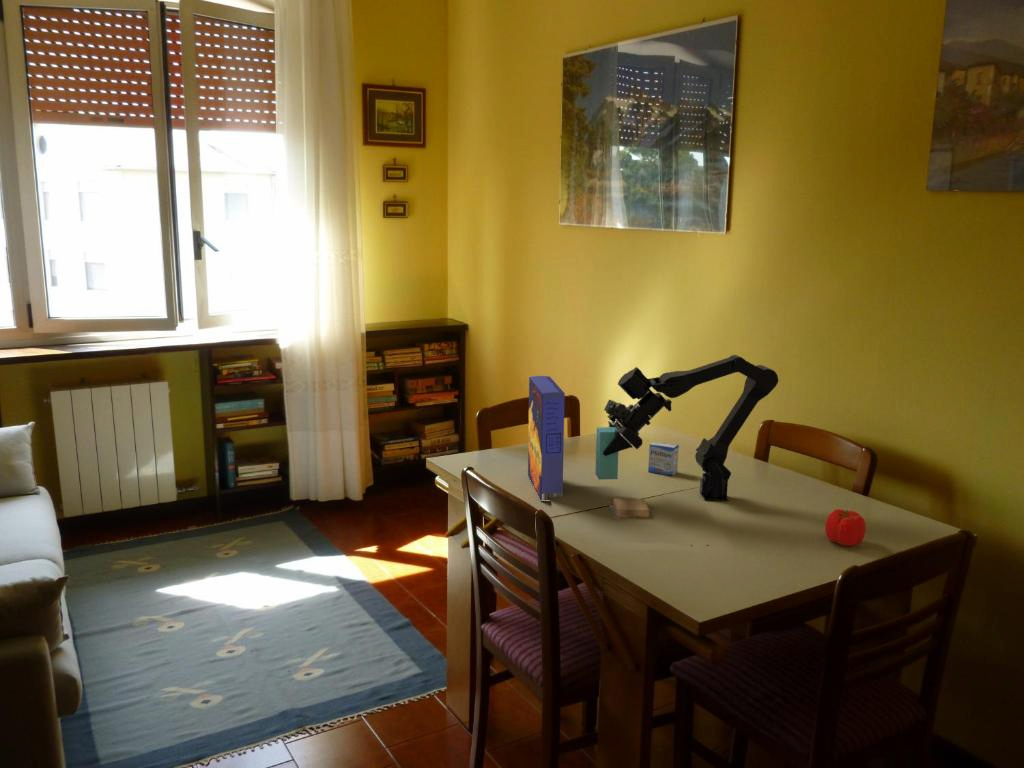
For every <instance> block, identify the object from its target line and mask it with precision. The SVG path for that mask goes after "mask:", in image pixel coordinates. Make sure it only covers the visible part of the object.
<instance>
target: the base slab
mask: <svg viewBox="0 0 1024 768" xmlns="http://www.w3.org/2000/svg"><path fill="white" fill-rule="evenodd" d="M608 507H609V508H610V512H611V514H612V518H613V519H614V520H629V519H633V518H634V517H617V516H616V513H615V510H614V506H613V504H608ZM649 513H651V510H650V509H649Z"/></svg>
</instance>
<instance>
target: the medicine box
mask: <svg viewBox="0 0 1024 768" xmlns="http://www.w3.org/2000/svg"><path fill="white" fill-rule="evenodd" d="M648 447H649V448H648V464H647V465H648V466H647V472H648V473H652V474H657V473H658V475H665V476H671V477H672V476H675V475H676V474H677V473H678V466H679V464H678V463H679V447H680V444H674V443H668V442H667V443H666V442H660V441H652V442H650V444H649V446H648Z"/></svg>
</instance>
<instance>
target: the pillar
mask: <svg viewBox="0 0 1024 768" xmlns="http://www.w3.org/2000/svg"><path fill="white" fill-rule="evenodd" d="M615 429H616V428H615V427H609V426H601V427H600V426H597V427H596V435H595V436H596V440H595V441H596V442H595V445H596V447H595V473H594V474H595V475H596V477H597V479H598V480H618V479H619V478H618V475H619V474H618V472H619V452H616V453H613V454H610V455H607V456H605V455H604V454H603V452H604V450H605V449H606V448H607V447H608V445H609V444H610V443H611V441H612V440H613V439H614V438H615ZM616 430H617V429H616ZM617 431H618V430H617ZM618 432H619V431H618Z"/></svg>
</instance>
